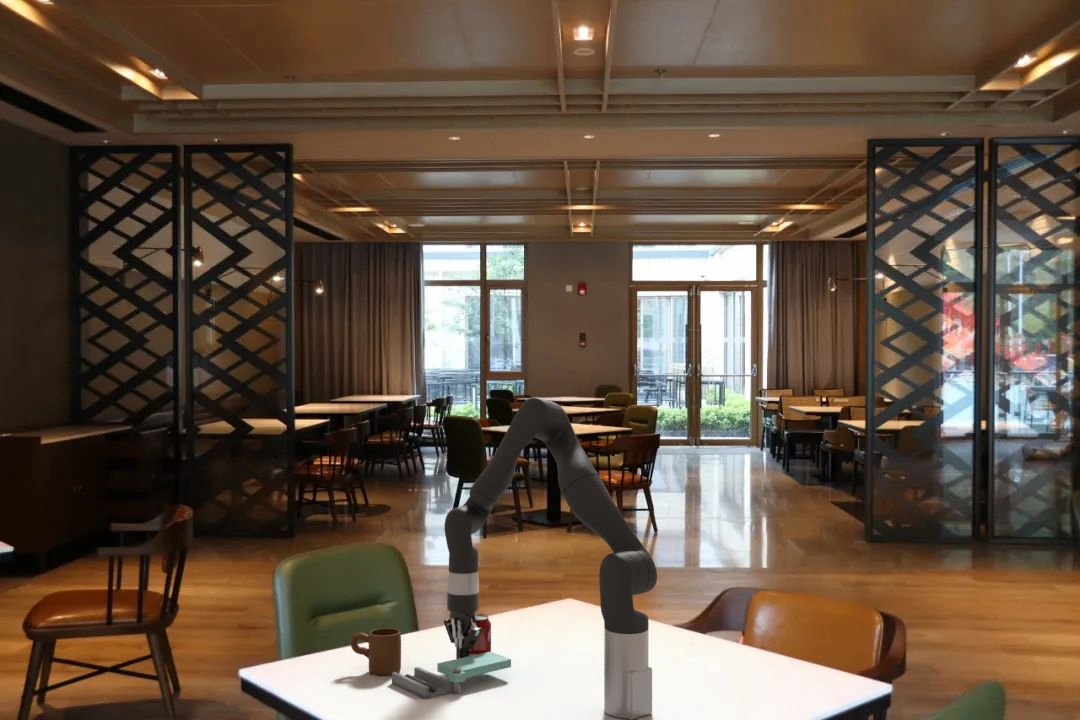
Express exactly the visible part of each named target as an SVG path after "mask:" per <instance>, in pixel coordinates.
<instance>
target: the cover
mask: <svg viewBox="0 0 1080 720" xmlns="http://www.w3.org/2000/svg"><path fill="white" fill-rule="evenodd" d="M436 668H437V669H436V670H437V672H438V673H441V674H442V675H445V676H447V677H448V680H449V681H452V683H453V684H454V683H458V682H460V683H461V682H466V679H467V678H470V677H475V676H479V675H483V674H484V675H485V674H487V673H491V672H495V671H500V670H503V669H504V670H505V669H508V668H512V658H509V657H506V656H504V655H501V654H499V653H495V652H493V651H491V652H486V653H482V654H477V655H473V656H468V657H464V658H459V659H456V658H455V659H452V660H448V661H442V662H438V663H437V667H436Z"/></svg>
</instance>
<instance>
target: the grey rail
mask: <svg viewBox="0 0 1080 720" xmlns="http://www.w3.org/2000/svg"><path fill="white" fill-rule="evenodd" d="M413 673H414V675H411V674H409V673H407V674H405V675H403V674H401V673H400V672H398V673H397V672H393V673H392V675H391V684H392V685H394V686H396V687H398V688H401V689H403V690H405V691H407V692H409V693H411V694H413V695H416V696H417V697H420V698H422V699H423V700H427V699H432V698H435V697H441V696H445V695H449V694H451V693H453V694H457V695H458V694H460V693H461V682H458V683H454V682H452V681H449V679H447V678H444V677H442V676H440V675H438V674H436V673H433V672H430V671H429V670H426V669H424V668H422V667H420V666H417V667H414V670H413Z"/></svg>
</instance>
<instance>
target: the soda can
mask: <svg viewBox="0 0 1080 720" xmlns="http://www.w3.org/2000/svg"><path fill="white" fill-rule="evenodd" d="M475 618H476V623H475V624H476V626H477V628H481V629H482V632H481V634H480V636H479V638H478V639H477V641H476V643H475V645H474V646H471V647H469V648H468V656H473V655H477V654H482V653H486V652H492V622H491V621H490V619H489V615H488V614H484V613H475ZM465 640H466V639H465Z"/></svg>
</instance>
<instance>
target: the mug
mask: <svg viewBox="0 0 1080 720" xmlns="http://www.w3.org/2000/svg"><path fill="white" fill-rule="evenodd" d="M368 633H369V634H367V633H365V632H357V633H354V634H353V635H352V636H351V639H350V642H349V643H350V646H351V649H352V651H354V653H356V654H358V655H361V656H362V655H363V656H364V657H366V658H367V659H368V671H369V674H371V675H373V676H377V677H387V676H388V677H389V676H392V673H393V672H397V673H400V672H401V669H402V633H401V630H400V629H397V628H393V627H392V628H389V627H384V628H375V629H372V630H371V631H369V632H368ZM358 640H361V641H363V642H366V643H368V647H364V646H361V645H359V644H358Z"/></svg>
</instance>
